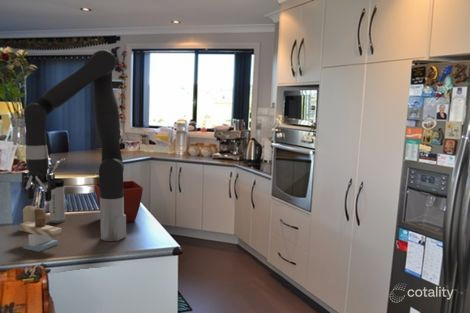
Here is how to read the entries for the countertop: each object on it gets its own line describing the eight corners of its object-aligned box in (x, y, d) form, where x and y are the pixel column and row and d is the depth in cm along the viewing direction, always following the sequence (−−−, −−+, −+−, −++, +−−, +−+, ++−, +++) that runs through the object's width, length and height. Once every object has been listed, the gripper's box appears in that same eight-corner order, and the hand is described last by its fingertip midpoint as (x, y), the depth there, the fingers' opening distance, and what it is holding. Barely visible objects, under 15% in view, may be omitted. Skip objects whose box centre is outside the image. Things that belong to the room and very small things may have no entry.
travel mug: (60, 218, 189) (59, 177, 187) (67, 221, 185) (66, 179, 183) (47, 221, 184) (46, 179, 182) (54, 224, 180) (53, 180, 178)
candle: (36, 229, 171) (35, 207, 170) (22, 230, 170) (21, 207, 169) (38, 226, 177) (38, 204, 175) (25, 226, 175) (24, 204, 174)
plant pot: (101, 227, 177) (100, 190, 175) (94, 217, 194) (93, 183, 192) (143, 222, 186) (143, 187, 184) (133, 213, 203) (133, 180, 201)
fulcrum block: (58, 244, 154) (57, 230, 153) (38, 251, 146) (38, 237, 145) (42, 241, 157) (42, 227, 156) (23, 248, 148) (22, 234, 148)
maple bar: (61, 234, 148) (61, 211, 147) (52, 237, 145) (52, 213, 144) (29, 227, 156) (28, 205, 155) (19, 230, 152) (18, 207, 151)
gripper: (59, 157, 148) (61, 199, 150) (31, 155, 153) (33, 196, 155) (43, 159, 141) (45, 203, 143) (14, 157, 146) (16, 200, 148)
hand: (39, 200), depth 149 cm, fingers open, 8 cm apart
